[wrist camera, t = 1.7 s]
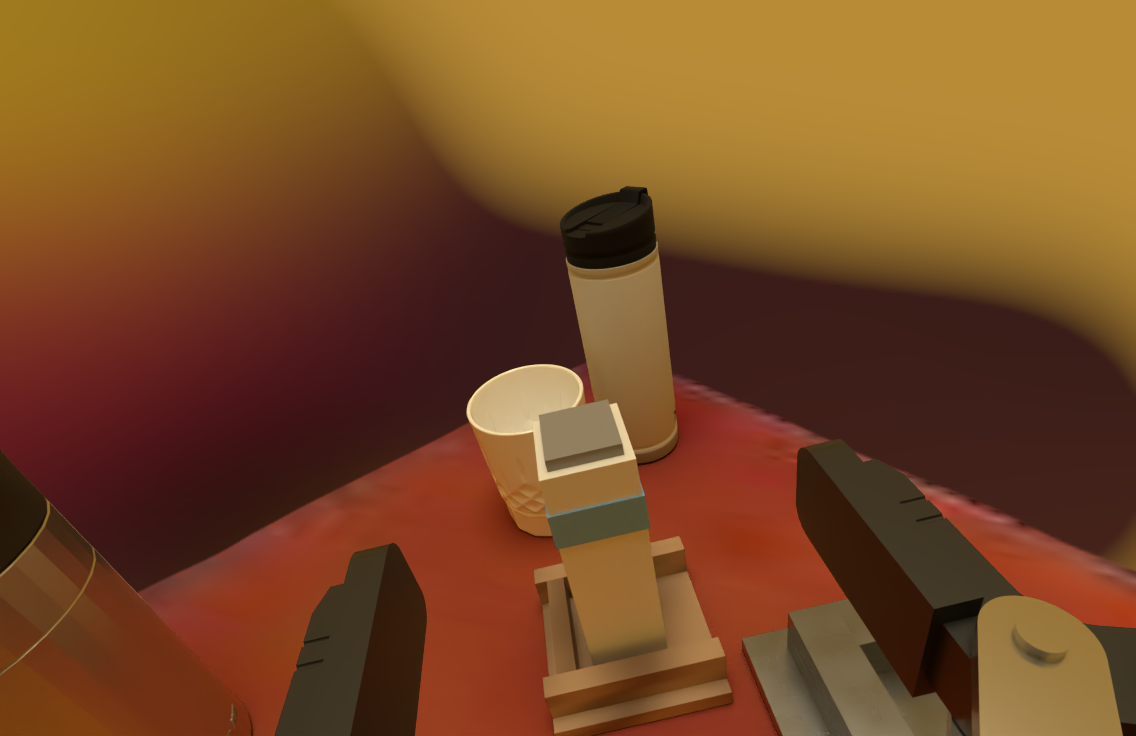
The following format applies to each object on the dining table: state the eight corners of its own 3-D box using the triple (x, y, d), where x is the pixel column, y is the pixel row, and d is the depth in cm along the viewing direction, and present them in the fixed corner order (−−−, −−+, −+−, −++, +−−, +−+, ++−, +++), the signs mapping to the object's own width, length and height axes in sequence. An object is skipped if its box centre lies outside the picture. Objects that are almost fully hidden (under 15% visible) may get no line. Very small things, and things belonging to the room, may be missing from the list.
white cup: (531, 461, 46) (501, 361, 41) (619, 474, 43) (599, 367, 38) (485, 533, 41) (443, 427, 35) (583, 554, 37) (553, 441, 32)
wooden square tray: (558, 743, 28) (545, 712, 26) (543, 591, 35) (533, 560, 34) (732, 702, 28) (730, 669, 26) (680, 559, 36) (676, 527, 34)
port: (873, 965, 20) (886, 931, 18) (742, 649, 30) (740, 604, 28) (1253, 875, 20) (1310, 831, 18) (993, 591, 30) (1009, 541, 28)
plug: (593, 674, 29) (533, 472, 22) (582, 605, 33) (527, 411, 25) (671, 657, 29) (637, 448, 22) (651, 589, 33) (616, 390, 25)
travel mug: (696, 430, 46) (675, 188, 35) (644, 476, 42) (604, 223, 32) (639, 405, 50) (605, 183, 40) (588, 445, 47) (536, 214, 36)
